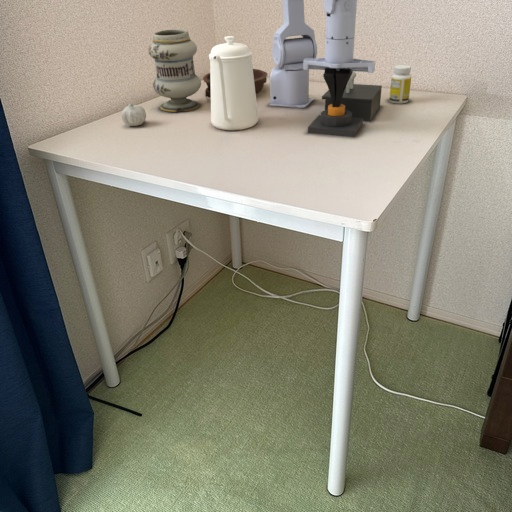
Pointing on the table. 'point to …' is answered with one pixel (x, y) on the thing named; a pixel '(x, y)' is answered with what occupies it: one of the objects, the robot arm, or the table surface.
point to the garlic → (133, 115)
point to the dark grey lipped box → (360, 107)
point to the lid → (357, 91)
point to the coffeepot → (232, 86)
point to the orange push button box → (335, 124)
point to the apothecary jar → (175, 69)
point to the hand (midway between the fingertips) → (336, 105)
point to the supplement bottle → (400, 84)
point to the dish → (258, 81)
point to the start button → (336, 110)
